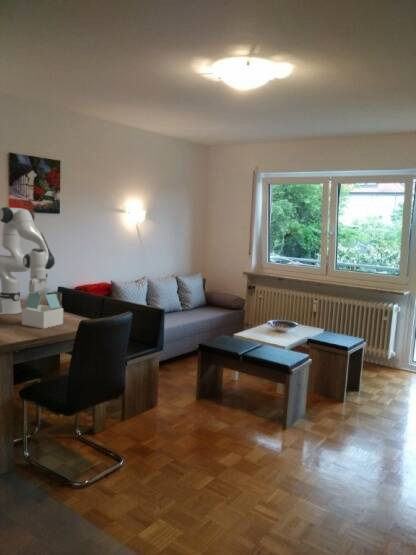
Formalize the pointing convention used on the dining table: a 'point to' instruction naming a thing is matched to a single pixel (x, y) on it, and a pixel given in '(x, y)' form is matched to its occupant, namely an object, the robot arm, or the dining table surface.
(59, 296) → the coffee box
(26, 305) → the teal flap long
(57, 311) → the carton
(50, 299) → the teal flap short
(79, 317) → the dining table surface
